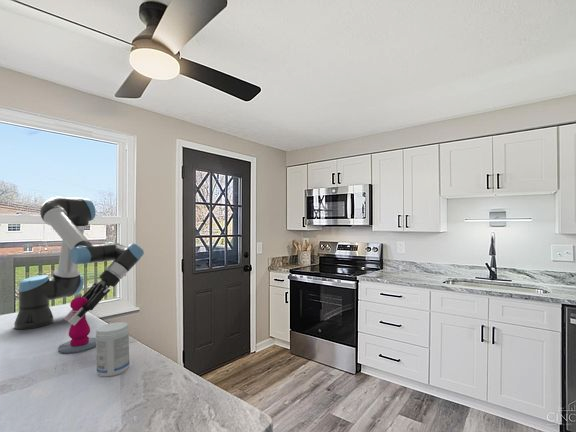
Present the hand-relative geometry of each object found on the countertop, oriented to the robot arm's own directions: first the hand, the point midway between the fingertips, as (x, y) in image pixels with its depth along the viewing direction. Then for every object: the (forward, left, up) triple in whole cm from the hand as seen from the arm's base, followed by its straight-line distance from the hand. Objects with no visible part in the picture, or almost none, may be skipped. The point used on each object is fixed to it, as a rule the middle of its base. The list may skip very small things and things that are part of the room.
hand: (68, 322), depth 125 cm
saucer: (+1, +3, -11) cm, 11 cm away
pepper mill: (+1, +3, -10) cm, 10 cm away
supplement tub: (+33, -8, -11) cm, 36 cm away
